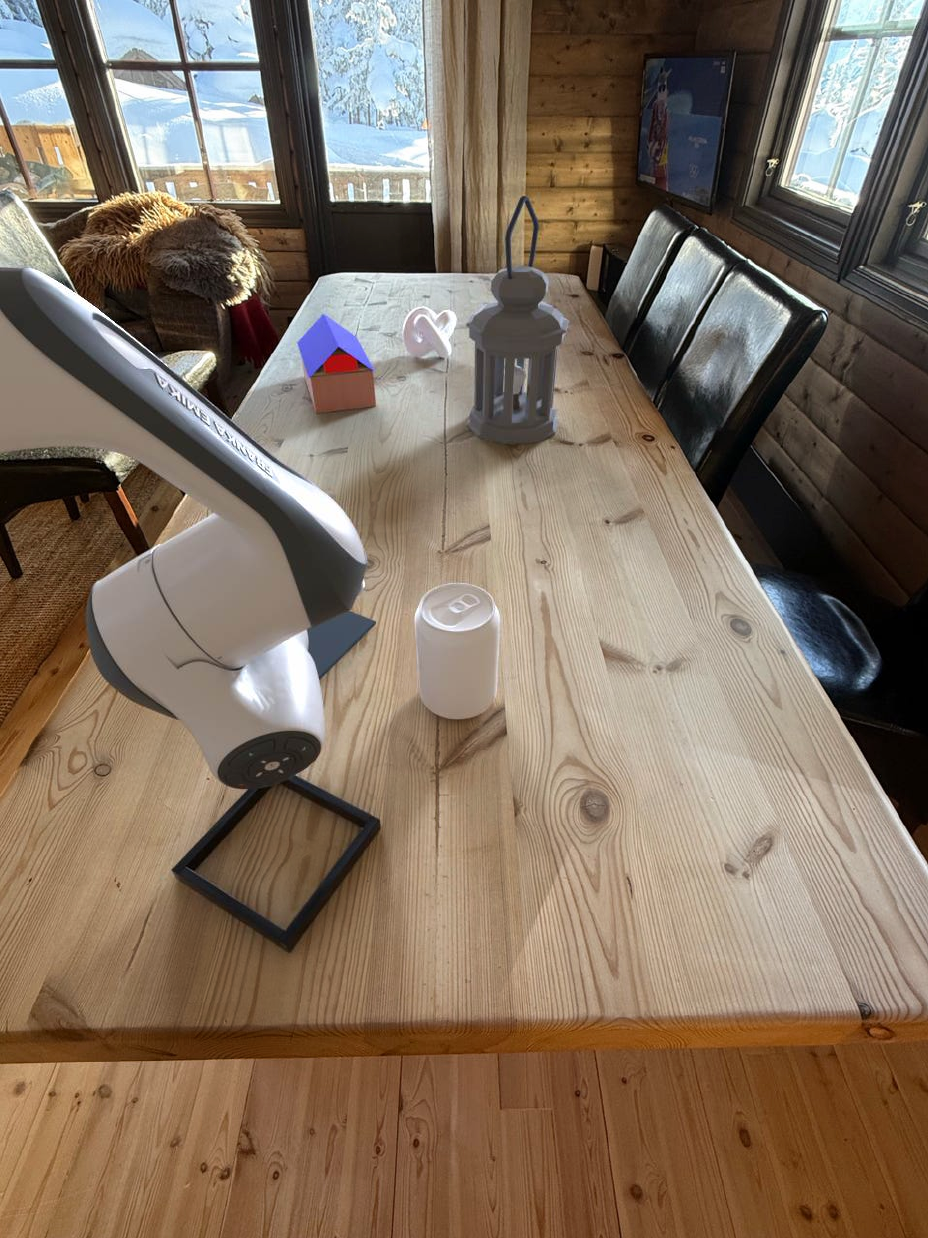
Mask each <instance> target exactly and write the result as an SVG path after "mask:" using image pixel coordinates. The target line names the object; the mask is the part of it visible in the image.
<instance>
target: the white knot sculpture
mask: <svg viewBox="0 0 928 1238" xmlns="http://www.w3.org/2000/svg"><path fill="white" fill-rule="evenodd" d="M456 325H457V316H456V314H455V312H453V311H451V310H448V309H446V310H443V311H441V312H440V313H439V314H438V315H437V314H436V312H435V311H433V310H432V309H430V308H428V307H426V306H418V307H416V308H414V309H413V310H411V311H410V312H409V313H408V315H407V316H406V318H405V320H404V323H403V326H402V343H403V346H404V348H405V350H406V351H407V353H408V354H409V355H411V356H413V357H416V358H423V357H425V356H427V355H429V354H430V353H431V352H432V351H433V350H434V351H435V352H436V354H437V355H438V356H439V357H440V358H443V359H447V358H448V357H450V355H451V354H452V347H451V343H450V342H449V338H450V337H451V336H452V334H453V333H454V330H455V328H456Z"/></svg>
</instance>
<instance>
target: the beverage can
mask: <svg viewBox="0 0 928 1238" xmlns="http://www.w3.org/2000/svg"><path fill="white" fill-rule="evenodd" d="M500 631H501V615H500V612H499V609H498V607H497V605H496V603H495V600H494V598H493V597H492V595H491V594H490V593H489V592H488V591H487V590H485V589H483V588H481V587H479V586H477V585H474V584H471V583H464V582H451V583H450V582H449V583H445V584H441V585H438V586H436V587H433V588H432V589H430V590H428V591H427V592H426V593H425V594H424V595H423V596H422V597H421V599H420V601H419V604H418V606H417V608H416V611H415V614H414V634H415V647H416V661H417V662H416V664H417V674H418V675H417V676H418V692H419V698H420V700H421V702H422V703H423V705H424V706H425V707H426V708H427V710H429V711H430V712H432V713H433V714H435V715H436V716H438V717H442V718H443V719H450V720H466V719H471V718H474V717H477V716H480V715H481V714H483V713H484V712H486V711H487V710H488V709H490V708H491V706H492V705H493V704H494V702H495V700H496V698H497V694H498V678H499V677H498V675H499V657H500V656H499V653H500V633H501V632H500Z"/></svg>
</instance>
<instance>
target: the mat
mask: <svg viewBox="0 0 928 1238" xmlns="http://www.w3.org/2000/svg"><path fill="white" fill-rule="evenodd" d="M376 624H377V621H376V620H374V619H372V618H369V617H366V616H364V615H360V614H359V613H356V612H354V611H351V610H350V611H348V612H346V613H343V614H341V615H339V616H337V617H335V618H333V619H331V620H329V621H326V622H324V623H322V624H320V625H318V626H316V627H314V628H312V627H310V628H308V629H307V633H308V640H309V645H308V652H309V654H310V655H311V657H312V658H313V660H314V663H315V666H316V669H317V673H318V677H319V681H321V679H322V678H323V677H324V676H325V675H326V674H327V673H328V672H329V671H330V670H332V668H333V667H334V666H335V665H336V664H337V663H339V661H340V660H341V659H342V658H343V657H344V656H345V655H346V654H347V653H348V652H349V651H350V650H351V649H352V648H353V647H354V646H355V645H356V644H357V643H358V642H359V641H361V640H362V638H363V637H364V636H365V635H366V634H367V633H368V632H369V631H370V630H372V629H373V627H374V626H375V625H376Z"/></svg>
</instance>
